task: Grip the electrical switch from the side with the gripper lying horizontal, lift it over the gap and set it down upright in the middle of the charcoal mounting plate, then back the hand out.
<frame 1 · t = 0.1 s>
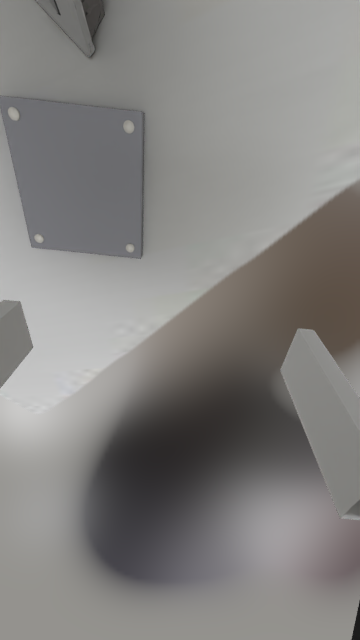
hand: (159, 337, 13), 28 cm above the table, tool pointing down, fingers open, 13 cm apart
mounting plate: (83, 187, 34), on the table
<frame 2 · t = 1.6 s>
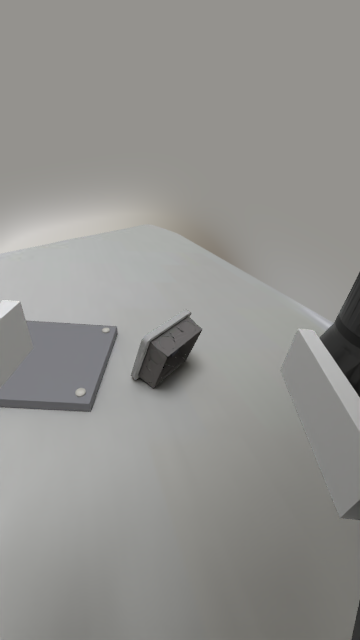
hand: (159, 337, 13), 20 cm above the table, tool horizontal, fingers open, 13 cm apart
electrical switch: (166, 370, 39), on the table
mounting plate: (48, 362, 38), on the table
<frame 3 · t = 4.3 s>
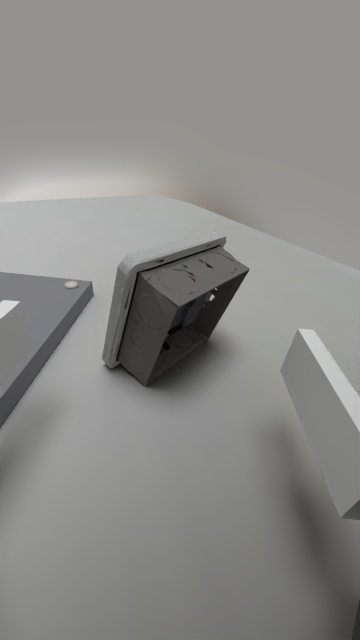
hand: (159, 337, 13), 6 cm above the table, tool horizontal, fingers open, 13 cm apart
electrical switch: (172, 354, 21), on the table
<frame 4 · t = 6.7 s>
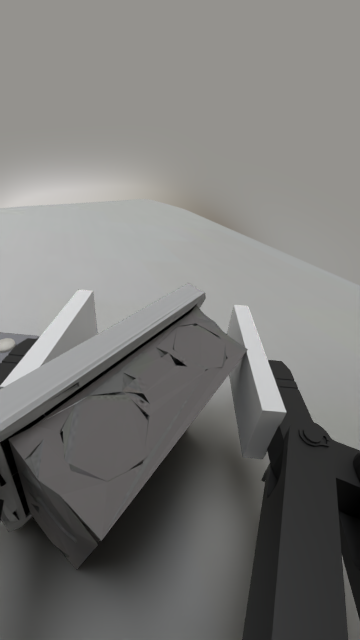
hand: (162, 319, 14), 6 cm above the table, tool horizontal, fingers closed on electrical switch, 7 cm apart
electrical switch: (130, 469, 13), on the table, touching gripper
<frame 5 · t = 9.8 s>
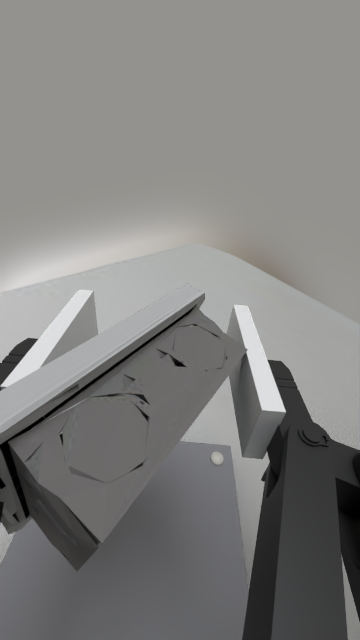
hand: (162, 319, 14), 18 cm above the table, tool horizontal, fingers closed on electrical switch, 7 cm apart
electrical switch: (130, 470, 13), point 12 cm above the table, touching gripper
mounting plate: (131, 544, 20), on the table
when the fingers open (9 cm above the table, at t = 12.5 s): electrical switch drops 1 cm, resting on mounting plate.
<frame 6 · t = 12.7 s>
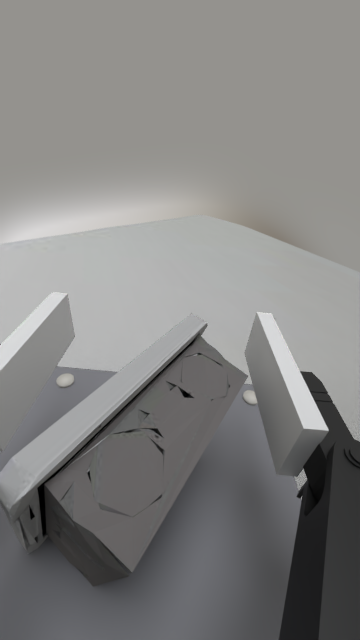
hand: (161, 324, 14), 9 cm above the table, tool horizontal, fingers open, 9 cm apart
electrical switch: (137, 485, 14), point 1 cm above the table, touching mounting plate
mounting plate: (145, 495, 15), on the table
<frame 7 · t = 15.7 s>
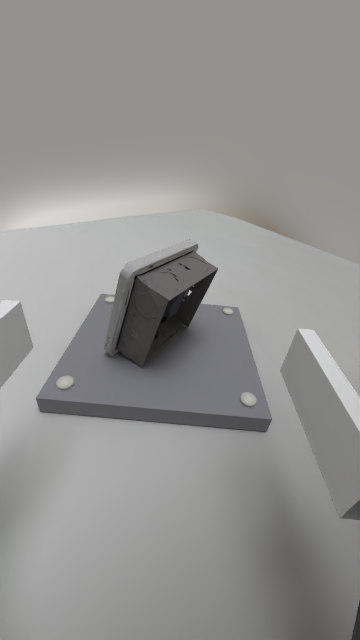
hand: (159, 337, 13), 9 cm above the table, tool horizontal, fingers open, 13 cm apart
electrical switch: (159, 342, 25), point 1 cm above the table, touching mounting plate
mounting plate: (163, 352, 26), on the table
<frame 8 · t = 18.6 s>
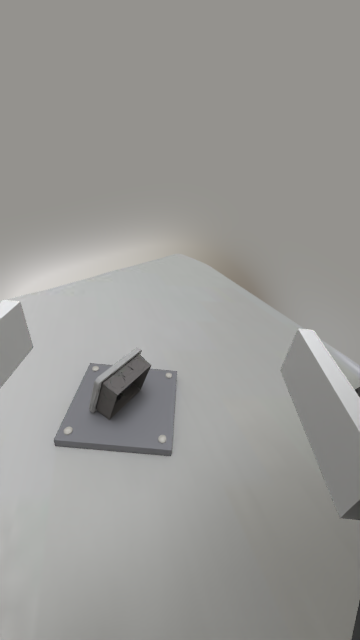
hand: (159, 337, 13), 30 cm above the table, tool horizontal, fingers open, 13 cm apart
electrical switch: (122, 401, 44), point 1 cm above the table, touching mounting plate
mounting plate: (125, 405, 45), on the table
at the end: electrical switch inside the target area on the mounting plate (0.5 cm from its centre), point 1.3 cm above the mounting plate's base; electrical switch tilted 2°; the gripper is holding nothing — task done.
